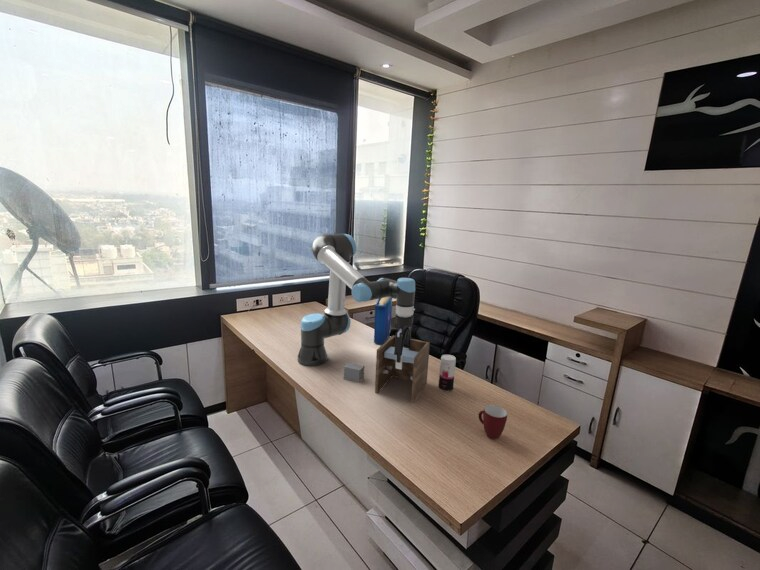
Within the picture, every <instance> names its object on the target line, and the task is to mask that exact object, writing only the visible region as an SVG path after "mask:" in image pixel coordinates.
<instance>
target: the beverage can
mask: <svg viewBox="0 0 760 570" xmlns="http://www.w3.org/2000/svg"><path fill="white" fill-rule="evenodd" d="M456 362H457V359H456V357H455V356H454V355H452V354H442V355H441V357H440V365H439V378H438V388H439V390H441V391H443V392H452V391H453V390H454V384H455V383H454V382H455V372H456Z"/></svg>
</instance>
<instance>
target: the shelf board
mask: <svg viewBox="0 0 760 570" xmlns="http://www.w3.org/2000/svg"><path fill="white" fill-rule="evenodd" d="M394 350H395V347H391V346H390V347H389V348H388V349H387V350H386V351H385V352H384V357H385V358H389V359H394V360H396V355H394ZM418 353H419V352H416V351H411V350H406V349H403V351H402V355H403V360H402V361H404V362H408V363H413V364H414V357H415V356H416V355H417V354H418Z"/></svg>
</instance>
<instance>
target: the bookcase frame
mask: <svg viewBox="0 0 760 570" xmlns="http://www.w3.org/2000/svg"><path fill="white" fill-rule="evenodd" d="M395 340H396V335H391V336H390V338H388V339H387V340H386V341H385V343H384V344H381V345H380V346H379V347H378V348H377V349H376V359H375V360H376V361H375V378H374V379H375V380H374V381H375V382H374V393H375V394H379V392H380V391H381V390H382V389H383V388H384V386H385V385H386V384H387V383H388V382H389V381H390V380H391V379H392V377H394V378H398V379H403V380H408V381H412V387H411V399H410V400H411V403H413V404H414V403H415V402H416V401H417V399H418V397H419V396H420V395H421V393H422V391H423V390H424V388H425V387H426V385H427V382H428V369H429V359H430V358H429V356H430V344H431V343H430V342H429V341H423V340H420V339H415V338H411V344H410V345H409V346H411V348H409V350H411V351H416V352H419V353H418V354H417V355H416V356H415V357H414V364H413V363H408V362H407V363H406V362H402V370H401V369H396V368H395V367H396V360H394V359H389V358H385V357H384V352H385V351H386V350H387V349H388V348H389V347H390V346H391V347H395Z"/></svg>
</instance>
